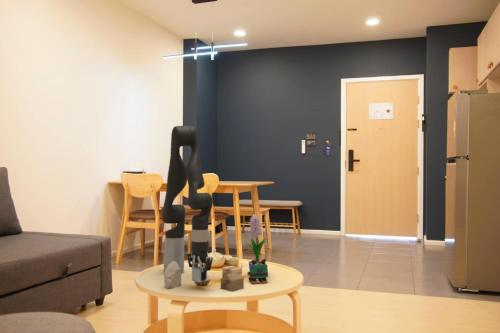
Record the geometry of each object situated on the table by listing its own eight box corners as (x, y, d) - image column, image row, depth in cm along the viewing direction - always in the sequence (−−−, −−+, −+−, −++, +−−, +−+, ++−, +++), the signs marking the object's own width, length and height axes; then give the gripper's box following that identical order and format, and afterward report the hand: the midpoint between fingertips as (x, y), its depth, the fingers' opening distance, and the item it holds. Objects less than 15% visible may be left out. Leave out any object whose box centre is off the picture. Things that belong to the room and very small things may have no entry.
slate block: (191, 280, 188) (192, 267, 188) (199, 278, 191) (199, 265, 191) (199, 282, 185) (199, 269, 185) (206, 280, 188) (206, 267, 188)
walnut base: (220, 288, 188) (220, 278, 188) (231, 285, 194) (232, 275, 194) (232, 292, 184) (232, 281, 184) (243, 288, 189) (243, 278, 189)
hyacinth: (272, 276, 209) (272, 213, 209) (257, 280, 201) (257, 215, 201) (258, 273, 215) (258, 212, 215) (243, 277, 207) (243, 213, 207)
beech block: (222, 278, 189) (222, 267, 189) (232, 275, 193) (232, 265, 193) (232, 280, 185) (232, 270, 185) (241, 278, 189) (242, 267, 189)
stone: (170, 289, 186) (170, 265, 186) (161, 288, 188) (161, 263, 188) (183, 284, 194) (183, 260, 194) (175, 283, 196) (175, 259, 196)
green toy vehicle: (263, 257, 207) (269, 259, 197) (263, 280, 206) (270, 283, 196) (244, 258, 204) (250, 260, 195) (245, 281, 203) (251, 284, 194)
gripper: (182, 238, 189) (181, 277, 190) (205, 243, 180) (204, 284, 181) (194, 236, 195) (194, 274, 196) (218, 240, 186) (217, 280, 187)
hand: (199, 278), depth 188 cm, fingers closed on slate block, 4 cm apart
